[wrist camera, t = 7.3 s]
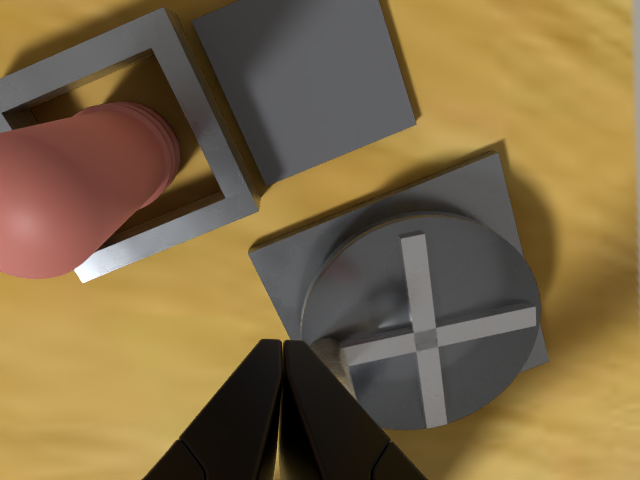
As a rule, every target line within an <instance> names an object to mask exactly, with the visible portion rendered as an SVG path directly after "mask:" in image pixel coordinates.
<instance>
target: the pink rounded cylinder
mask: <svg viewBox="0 0 640 480" xmlns="http://www.w3.org/2000/svg"><path fill="white" fill-rule="evenodd" d="M179 165H180V148H179V143H178V140H177V138H176V135H175V133H174V131H173V130H172V128H171V126H170V125H169V124H168V122H167V121H166V120H165V119H164V118H163V117H162V116H161V115H159V114H158V113H157V112H155V111H154V110H152V109H151V108H149V107H147V106H145V105H142V104H139V103H135V102H129V101H117V102H111V103H106V104H101V105H96V106H91V107H88V108H85V109H83V110H81V111H80V112H78V113H77V114H75V115H74V116H73V117H69V118H65V119H60V120H56V121H51V122H47V123H42V124H38V125H33V126H29V127H24V128H20V129H15V130H11V131H6V132H2V133H0V271H1V272H3V273H6V274H9V275H13V276H17V277H22V278H29V279H43V278H51V277H56V276H60V275H63V274H66V273H68V272H70V271H72V270H74V269H76V268H77V267H79V266H80V265H81V264H83V263H84V262H85V261H86V260H87V259H88V258H89V257H90V256H91V255H92V254H93V253H94V252H95V251H96V250H97V249H98V248H99V247H100V246H101V245H102V244H103V243H104V242H105V241H106V240H107V239H108V238H109V237H110V236H111V235H112V234H113V233H114V232H115V231H116V230H117V229H118V228H119V227H120V226H121V225H122V224H123V223H125V222H126V221H127V220H128V219H129V218H130V217H131V216H132V215H133V214H134V213H135V212H136V211H137V210H138V209H141V208H143V207H145V206H147V205H149V204H150V203H152V202H153V201H154V200H155V199H157V198H158V197H159V196H160V194H161V193H162V192H163V191H164V190H165V189H166V188H167V187H168V186H169V185H170V184H171V183H172V181H173V180H174V178H175V176H176V174H177V172H178V169H179Z"/></svg>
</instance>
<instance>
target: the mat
mask: <svg viewBox="0 0 640 480" xmlns="http://www.w3.org/2000/svg"><path fill="white" fill-rule="evenodd" d="M192 23H193V25H194V27H195V30H196V32H197V34H198V36H199V38H200V41H201V43H202V45H203V47H204V50H205V52H206V54H207V56H208V58H209V61H210V63H211V65H212V67H213V69H214V72H215V74H216V76H217V78H218V81H219V83H220V85H221V87H222V89H223V92H224V94H225V96H226V98H227V100H228V103H229V105H230V107H231V109H232V112H233V114H234V116H235V118H236V120H237V123H238V125H239V127H240V129H241V132H242V134H243V136H244V138H245V140H246V143H247V145H248V147H249V149H250V151H251V154H252V156H253V158H254V160H255V163H256V165H257V167H258V169H259V171H260V174H261V176H262V178H263V180H264V182H265V185H266V186H268V185H270V184H273V183H275V182H278V181H280V180H283V179H285V178H287V177H290V176H292V175H295V174H297V173H300V172H302V171H305V170H307V169H309V168H312V167H314V166H317V165H319V164H322V163H324V162H326V161H329V160H331V159H334V158H336V157H339V156H341V155H344V154H346V153H348V152H351V151H353V150H356V149H358V148H361V147H363V146H365V145H368V144H370V143H373V142H375V141H378V140H380V139H382V138H385V137H387V136H390V135H392V134H395V133H397V132H400V131H402V130H404V129H407V128H409V127H412V126H414V125H417V124H416V121H415V117H414V114H413V111H412V108H411V104H410V101H409V98H408V95H407V91H406V88H405V85H404V81H403V78H402V75H401V72H400V68H399V65H398V62H397V59H396V55H395V52H394V49H393V45H392V42H391V39H390V36H389V32H388V29H387V26H386V23H385V19H384V16H383V13H382V9H381V6H380V3H379V0H238V1H236V2H234V3H231V4H229V5H227V6H225V7H222V8H220V9H218V10H215V11H213V12H211V13H208V14H206V15H204V16H202V17H199V18H197V19H195V20H192Z"/></svg>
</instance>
